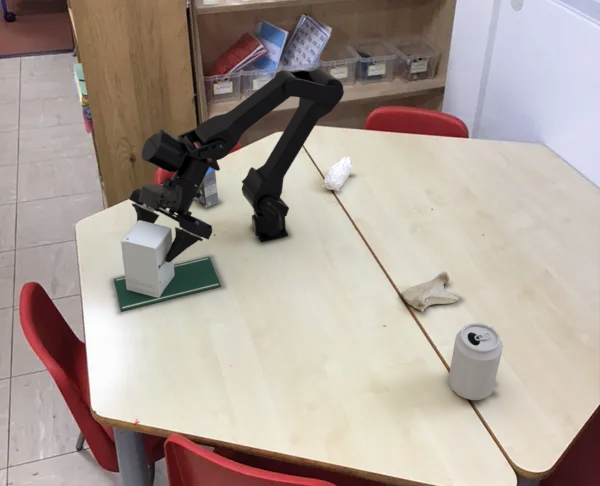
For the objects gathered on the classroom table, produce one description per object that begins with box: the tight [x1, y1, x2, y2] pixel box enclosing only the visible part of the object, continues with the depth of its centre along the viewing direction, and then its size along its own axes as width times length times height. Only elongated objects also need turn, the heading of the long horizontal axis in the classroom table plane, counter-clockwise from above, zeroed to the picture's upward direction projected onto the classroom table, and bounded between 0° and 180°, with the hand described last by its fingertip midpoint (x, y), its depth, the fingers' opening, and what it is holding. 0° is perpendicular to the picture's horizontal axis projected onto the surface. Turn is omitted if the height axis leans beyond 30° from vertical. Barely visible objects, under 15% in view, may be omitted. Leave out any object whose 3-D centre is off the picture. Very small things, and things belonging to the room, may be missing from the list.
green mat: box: [113, 256, 222, 313], centre depth 136 cm, size 20×10×1 cm, turn 110°
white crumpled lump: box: [321, 155, 353, 192], centre depth 164 cm, size 5×7×10 cm
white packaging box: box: [120, 220, 175, 298], centre depth 132 cm, size 7×7×13 cm
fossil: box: [402, 271, 459, 312], centre depth 131 cm, size 7×11×4 cm, turn 117°
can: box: [448, 322, 504, 401], centre depth 110 cm, size 8×8×12 cm
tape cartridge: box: [194, 144, 219, 209], centre depth 158 cm, size 9×4×12 cm, turn 41°
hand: (151, 252), depth 132 cm, fingers open, 9 cm apart
